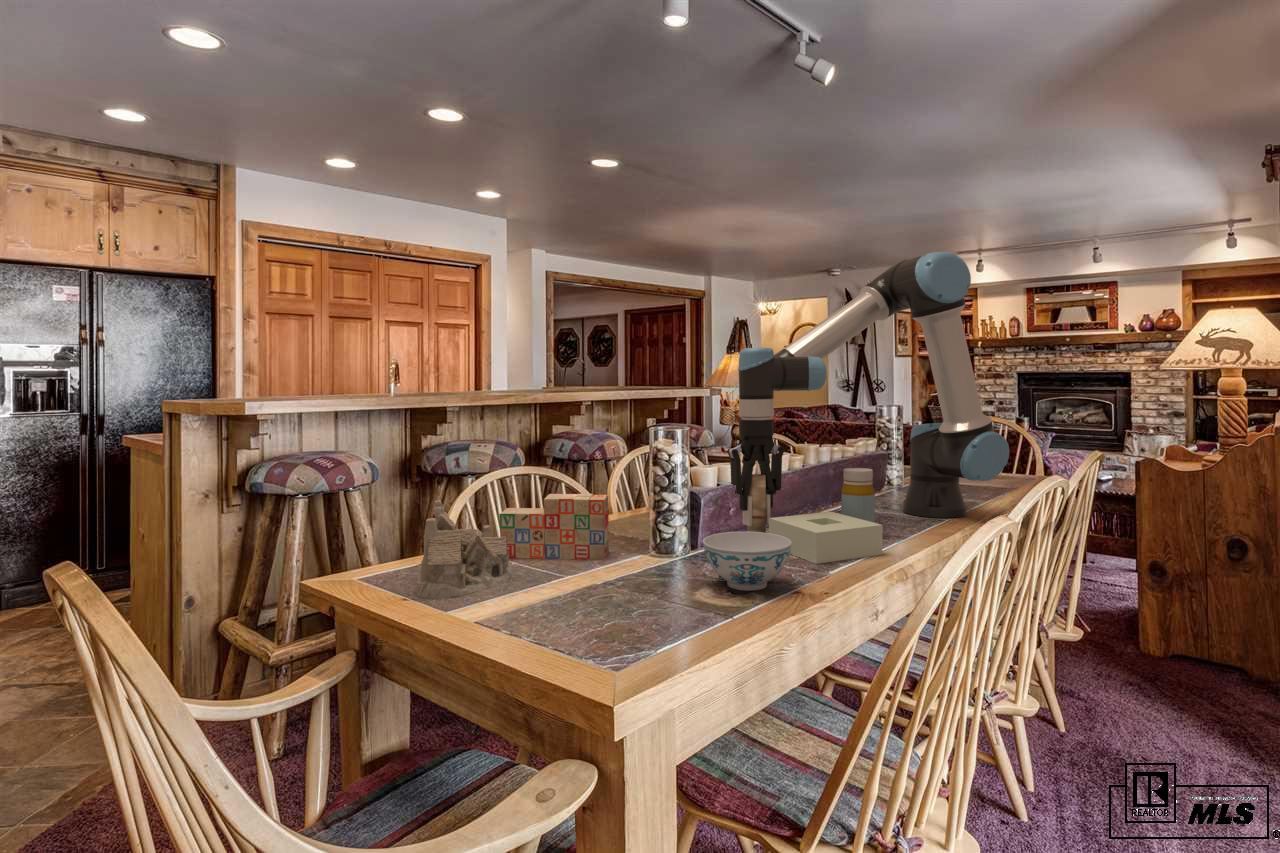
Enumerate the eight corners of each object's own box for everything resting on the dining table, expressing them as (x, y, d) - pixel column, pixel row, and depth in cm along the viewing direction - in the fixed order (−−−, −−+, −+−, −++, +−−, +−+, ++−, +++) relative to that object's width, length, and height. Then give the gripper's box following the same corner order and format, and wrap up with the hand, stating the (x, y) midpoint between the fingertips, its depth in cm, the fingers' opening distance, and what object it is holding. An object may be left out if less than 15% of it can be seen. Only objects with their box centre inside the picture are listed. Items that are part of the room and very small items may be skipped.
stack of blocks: (499, 559, 144) (498, 498, 143) (508, 551, 151) (506, 493, 150) (605, 560, 142) (604, 498, 142) (609, 552, 149) (608, 493, 148)
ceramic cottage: (403, 598, 118) (407, 507, 118) (432, 575, 135) (435, 495, 134) (498, 603, 118) (502, 512, 118) (515, 579, 135) (518, 499, 134)
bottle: (834, 535, 160) (834, 468, 159) (858, 532, 163) (859, 466, 162) (856, 541, 154) (856, 472, 153) (881, 538, 157) (881, 470, 156)
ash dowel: (759, 535, 162) (759, 473, 161) (769, 538, 158) (769, 475, 157) (743, 536, 160) (743, 474, 159) (753, 540, 157) (753, 476, 156)
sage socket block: (830, 538, 158) (831, 511, 157) (882, 554, 143) (882, 524, 142) (769, 546, 151) (769, 518, 151) (816, 563, 137) (816, 532, 136)
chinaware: (803, 579, 126) (803, 536, 126) (773, 603, 113) (773, 555, 113) (724, 569, 134) (724, 528, 133) (688, 590, 121) (687, 545, 120)
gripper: (779, 416, 164) (779, 517, 166) (713, 419, 158) (714, 524, 159) (798, 417, 157) (798, 523, 159) (731, 420, 151) (731, 530, 152)
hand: (756, 523), depth 159 cm, fingers closed on ash dowel, 4 cm apart
